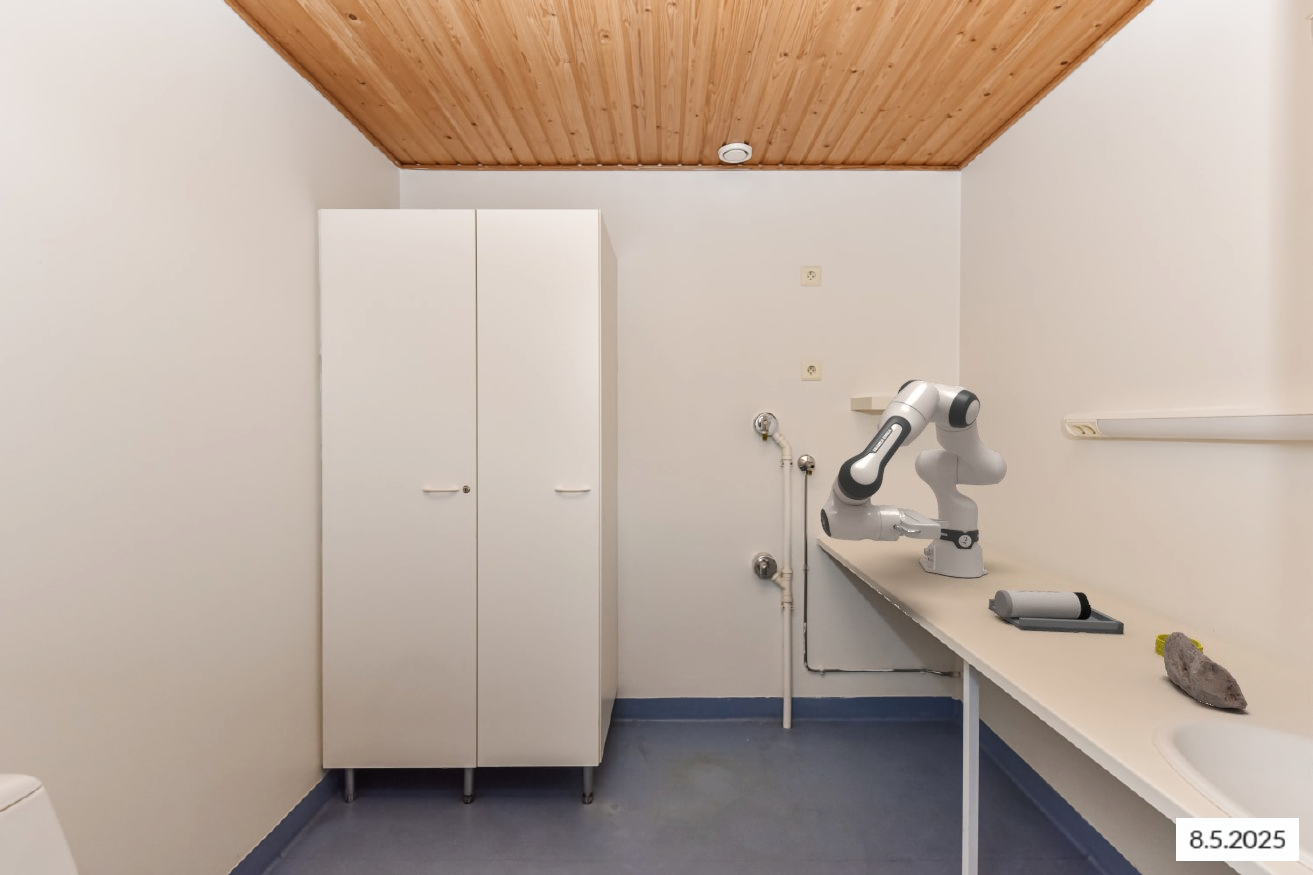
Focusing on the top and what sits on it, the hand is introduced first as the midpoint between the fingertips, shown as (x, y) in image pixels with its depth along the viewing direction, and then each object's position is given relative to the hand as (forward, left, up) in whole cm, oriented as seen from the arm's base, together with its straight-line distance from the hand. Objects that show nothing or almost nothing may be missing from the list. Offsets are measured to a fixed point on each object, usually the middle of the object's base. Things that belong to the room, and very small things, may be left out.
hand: (946, 523), depth 150 cm
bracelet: (+23, +38, -23) cm, 50 cm away
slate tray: (+3, +24, -22) cm, 33 cm away
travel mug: (+4, +11, -18) cm, 22 cm away
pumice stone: (+42, +28, -22) cm, 55 cm away
